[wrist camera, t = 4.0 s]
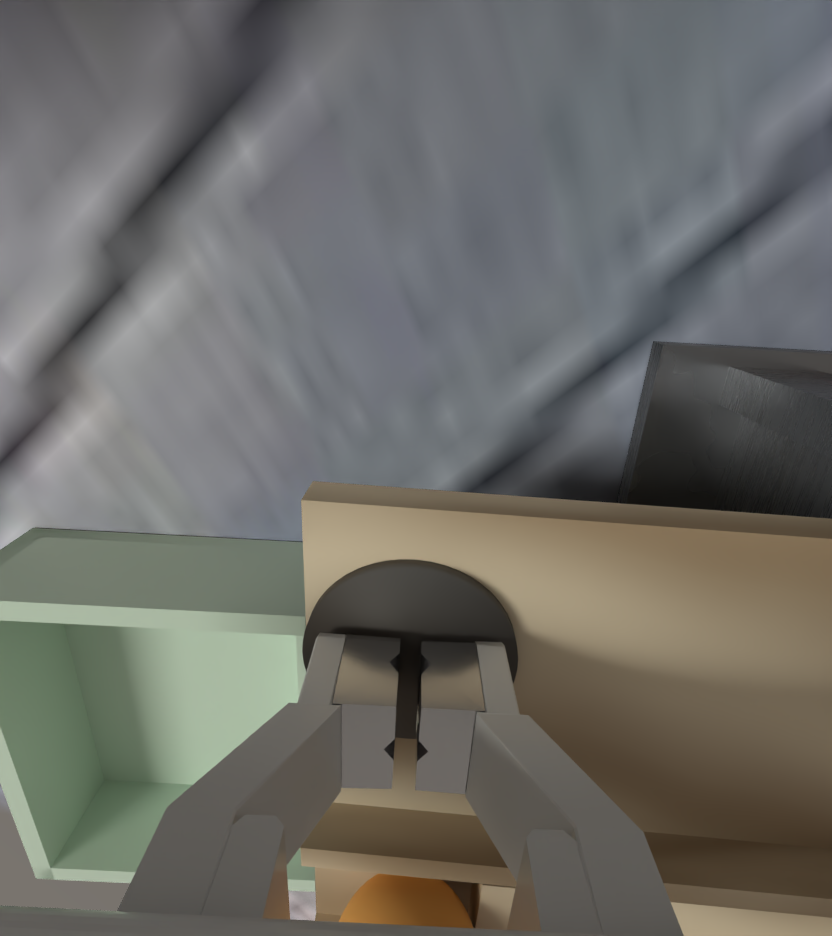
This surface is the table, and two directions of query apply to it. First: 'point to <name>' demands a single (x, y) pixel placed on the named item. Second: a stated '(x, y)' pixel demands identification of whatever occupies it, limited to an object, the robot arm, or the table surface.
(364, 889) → the ball
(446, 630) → the lever
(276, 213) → the table surface
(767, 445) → the stand
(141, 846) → the tray
